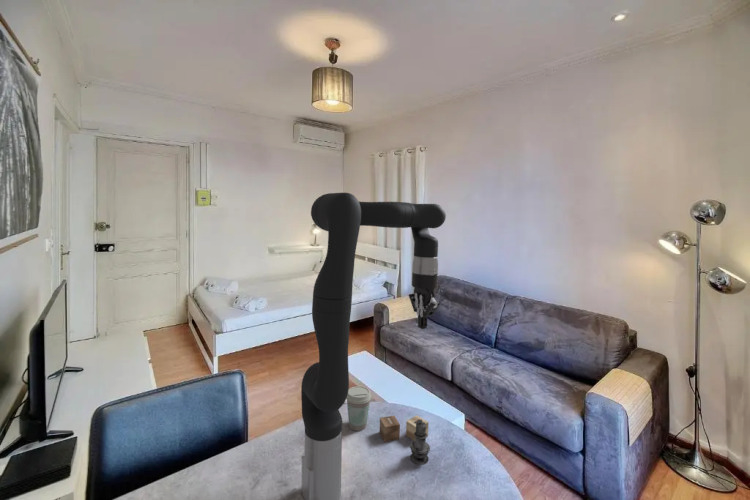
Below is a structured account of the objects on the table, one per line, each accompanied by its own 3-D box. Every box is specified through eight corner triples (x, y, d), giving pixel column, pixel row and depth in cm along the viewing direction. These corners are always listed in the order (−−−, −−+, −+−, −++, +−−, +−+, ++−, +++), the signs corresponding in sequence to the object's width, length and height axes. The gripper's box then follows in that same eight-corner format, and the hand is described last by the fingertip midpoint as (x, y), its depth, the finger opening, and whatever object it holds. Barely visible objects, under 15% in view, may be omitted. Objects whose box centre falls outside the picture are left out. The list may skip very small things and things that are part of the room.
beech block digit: (417, 443, 107) (418, 428, 106) (405, 435, 111) (406, 420, 110) (427, 436, 110) (428, 421, 110) (416, 429, 114) (416, 414, 114)
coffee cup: (341, 430, 112) (341, 395, 111) (350, 416, 120) (351, 383, 119) (365, 435, 110) (366, 400, 108) (373, 421, 118) (374, 387, 117)
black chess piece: (429, 467, 97) (431, 427, 96) (408, 463, 98) (410, 423, 97) (430, 453, 103) (431, 415, 101) (410, 449, 104) (412, 412, 103)
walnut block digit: (384, 441, 107) (385, 426, 107) (379, 432, 112) (380, 417, 111) (399, 439, 109) (399, 424, 108) (393, 429, 113) (394, 415, 113)
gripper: (402, 268, 106) (400, 323, 107) (427, 275, 94) (425, 336, 96) (422, 267, 109) (419, 320, 111) (449, 274, 98) (446, 333, 99)
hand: (422, 328), depth 103 cm, fingers closed
